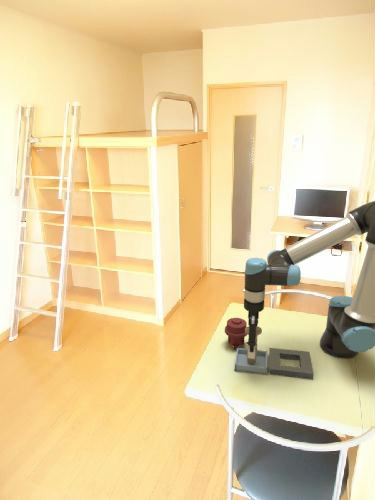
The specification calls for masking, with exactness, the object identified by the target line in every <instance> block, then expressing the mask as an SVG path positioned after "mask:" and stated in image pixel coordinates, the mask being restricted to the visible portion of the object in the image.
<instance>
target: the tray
mask: <svg viewBox="0 0 375 500" xmlns="http://www.w3.org/2000/svg"><path fill="white" fill-rule="evenodd" d="M234 372H238V373H239V372H240V373H248V374H256V375H263V376H267V375H268V350H262V349H260V350H259V349H257V357H256V362H255V363H254V364H249V363H248V362H247V348H241V347H238V348H237V349H236V353H235V360H234Z"/></svg>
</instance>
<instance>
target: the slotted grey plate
mask: <svg viewBox="0 0 375 500" xmlns="http://www.w3.org/2000/svg"><path fill="white" fill-rule="evenodd" d="M281 359H282V360H290V361H291V360H292V361H298V362H299V366H294V365H293V366H292V365H282V364H281ZM268 374H269V375H271V376H280V377H289V378H296V379H297V378H300V379H306V380H314V374H315V373H314V368H313V363H312V359H311V353H310V351H304V350H295V349H286V348H276V347H269V348H268Z"/></svg>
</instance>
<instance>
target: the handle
mask: <svg viewBox="0 0 375 500" xmlns="http://www.w3.org/2000/svg"><path fill="white" fill-rule="evenodd" d="M262 331H263V328H262V327H260V326H258V325H257V326H256V339H255V342H256V346H255V359H251V358H248V345H247V347H246V349H247V362H248V363H249V364H254V363H255V362H256V357H257V350H258V336H259V335H262ZM245 333H246V334H247V335H248V336H249V326H246V328H245ZM247 342H249V337H248V340H247Z"/></svg>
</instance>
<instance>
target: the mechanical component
mask: <svg viewBox="0 0 375 500" xmlns="http://www.w3.org/2000/svg"><path fill="white" fill-rule="evenodd" d="M247 323H248V322H247V321H246V320H245V319H243V318H240V317H231V318H229V319H227V321H226V325H225V327H224V333H225V334H226V336H227V343H228V345H230V346H231V347H233V349H234V350H237V348H240V347H242V346H244V344H245V337H247V335H248V334H246V333H245V328H246V327H248V326H247Z"/></svg>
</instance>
